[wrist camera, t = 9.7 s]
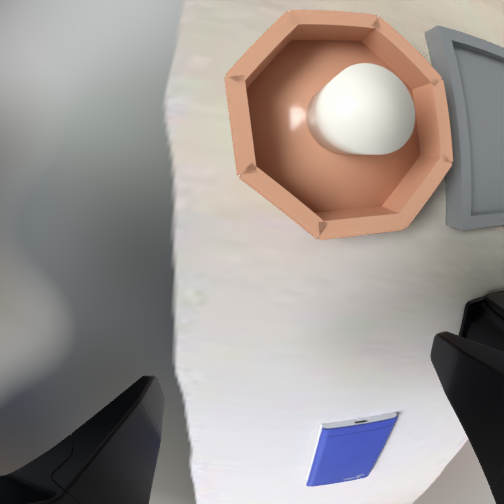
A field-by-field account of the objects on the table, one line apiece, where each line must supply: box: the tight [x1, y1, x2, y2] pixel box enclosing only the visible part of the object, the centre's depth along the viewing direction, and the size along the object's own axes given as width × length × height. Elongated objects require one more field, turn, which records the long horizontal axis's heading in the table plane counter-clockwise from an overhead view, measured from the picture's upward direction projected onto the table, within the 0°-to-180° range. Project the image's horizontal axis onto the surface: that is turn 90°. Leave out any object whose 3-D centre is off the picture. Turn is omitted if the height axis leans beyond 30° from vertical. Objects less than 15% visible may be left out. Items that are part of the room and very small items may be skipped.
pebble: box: [306, 63, 415, 155], centre depth 14 cm, size 4×4×5 cm
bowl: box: [224, 10, 453, 240], centre depth 16 cm, size 13×13×4 cm
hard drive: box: [306, 412, 398, 486], centre depth 27 cm, size 2×8×12 cm
